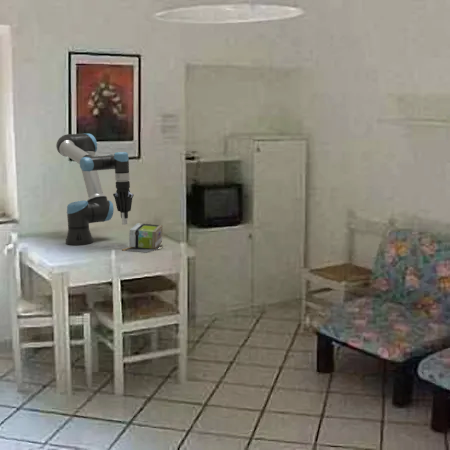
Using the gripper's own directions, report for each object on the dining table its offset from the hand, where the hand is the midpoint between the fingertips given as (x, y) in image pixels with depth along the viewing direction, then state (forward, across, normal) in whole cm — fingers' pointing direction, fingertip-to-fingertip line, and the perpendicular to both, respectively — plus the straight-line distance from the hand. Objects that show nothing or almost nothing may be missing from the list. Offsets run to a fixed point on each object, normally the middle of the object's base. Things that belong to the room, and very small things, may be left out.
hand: (124, 224), depth 414 cm
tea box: (+6, +4, +2) cm, 7 cm away
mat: (+13, +14, 0) cm, 19 cm away
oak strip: (+13, +6, 0) cm, 14 cm away
